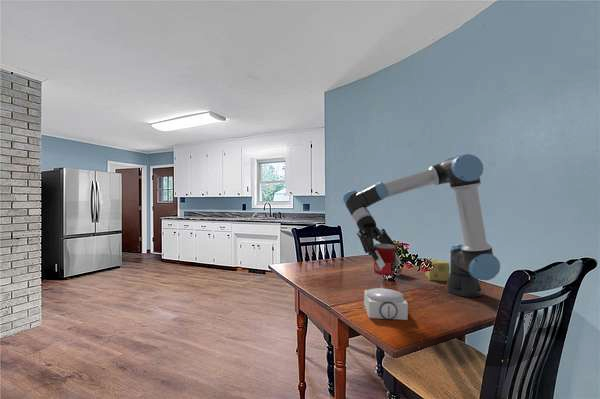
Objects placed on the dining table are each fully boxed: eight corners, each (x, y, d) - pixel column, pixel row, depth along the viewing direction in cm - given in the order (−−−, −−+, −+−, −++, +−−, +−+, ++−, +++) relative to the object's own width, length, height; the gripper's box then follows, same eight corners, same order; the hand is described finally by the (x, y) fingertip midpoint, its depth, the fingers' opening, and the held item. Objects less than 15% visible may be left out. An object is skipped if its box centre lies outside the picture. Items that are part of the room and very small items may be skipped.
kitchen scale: (398, 305, 122) (398, 289, 122) (408, 321, 107) (408, 301, 107) (364, 304, 123) (364, 287, 123) (369, 319, 108) (369, 300, 108)
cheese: (429, 280, 161) (429, 262, 161) (424, 275, 172) (424, 258, 172) (449, 281, 160) (449, 263, 160) (443, 276, 170) (443, 259, 170)
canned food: (396, 276, 111) (396, 247, 111) (374, 274, 113) (374, 246, 113) (393, 271, 119) (394, 244, 119) (373, 269, 120) (374, 243, 120)
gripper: (378, 225, 134) (404, 268, 120) (340, 226, 124) (365, 273, 110) (386, 214, 129) (415, 258, 115) (348, 215, 120) (375, 262, 105)
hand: (391, 265), depth 113 cm, fingers closed on canned food, 8 cm apart
